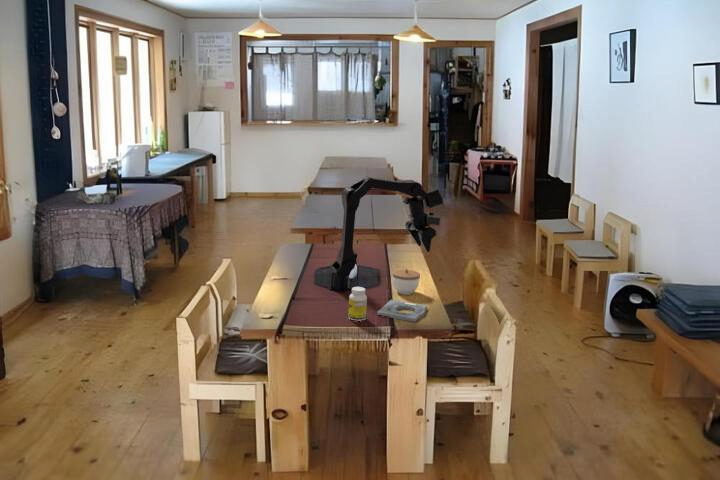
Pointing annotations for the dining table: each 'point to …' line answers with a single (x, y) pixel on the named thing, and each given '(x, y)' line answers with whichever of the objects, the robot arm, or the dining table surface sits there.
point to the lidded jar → (405, 281)
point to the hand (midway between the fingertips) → (424, 248)
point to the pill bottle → (357, 304)
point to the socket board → (392, 312)
